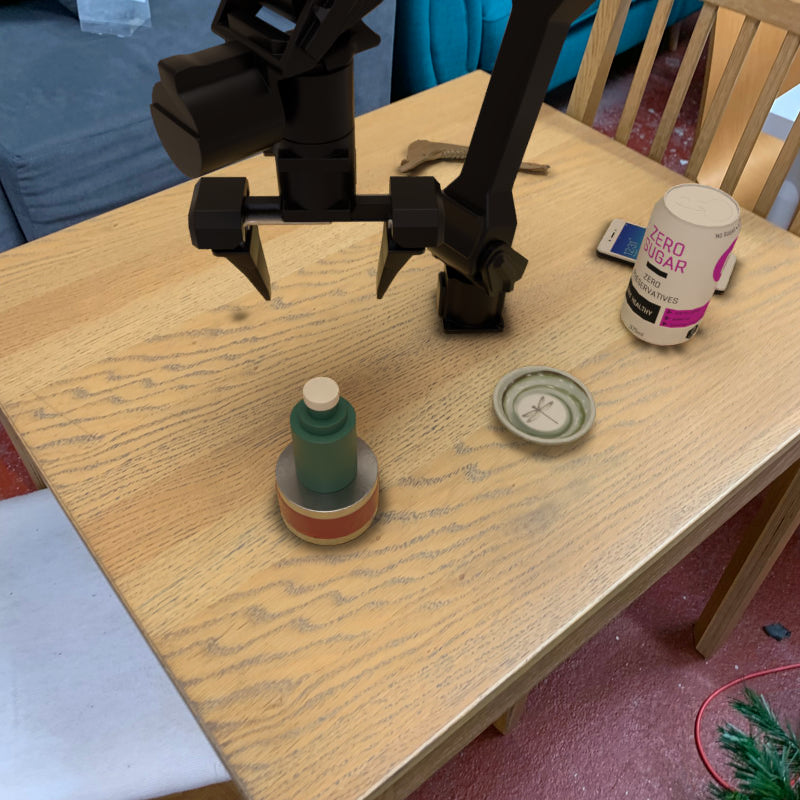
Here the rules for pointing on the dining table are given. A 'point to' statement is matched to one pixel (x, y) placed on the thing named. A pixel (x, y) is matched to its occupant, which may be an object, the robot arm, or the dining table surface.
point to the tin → (328, 500)
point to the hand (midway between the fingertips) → (324, 296)
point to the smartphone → (626, 244)
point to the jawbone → (445, 155)
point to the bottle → (324, 437)
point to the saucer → (544, 405)
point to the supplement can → (680, 263)
